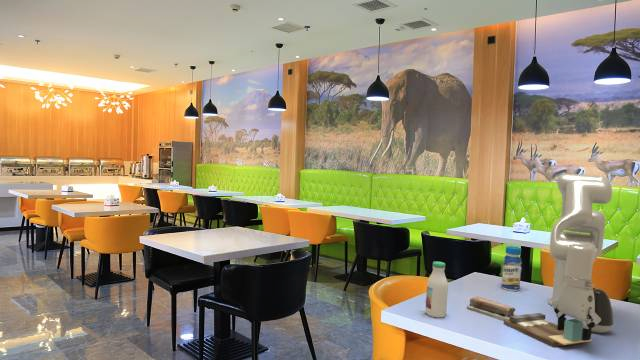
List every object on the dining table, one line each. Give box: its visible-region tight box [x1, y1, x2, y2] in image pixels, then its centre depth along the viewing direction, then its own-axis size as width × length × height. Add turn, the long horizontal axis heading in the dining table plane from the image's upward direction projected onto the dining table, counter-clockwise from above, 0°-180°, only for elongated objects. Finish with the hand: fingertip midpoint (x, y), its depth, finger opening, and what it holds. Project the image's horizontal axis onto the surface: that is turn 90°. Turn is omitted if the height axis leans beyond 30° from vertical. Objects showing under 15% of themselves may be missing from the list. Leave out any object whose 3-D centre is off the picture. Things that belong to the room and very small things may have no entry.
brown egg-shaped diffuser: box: [586, 287, 615, 334], centre depth 166 cm, size 10×10×15 cm
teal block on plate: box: [548, 318, 593, 346], centre depth 151 cm, size 13×6×6 cm, turn 113°
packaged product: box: [466, 296, 518, 322], centre depth 179 cm, size 18×5×10 cm
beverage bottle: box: [500, 245, 523, 292], centre depth 217 cm, size 8×8×20 cm
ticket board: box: [503, 312, 584, 348], centre depth 161 cm, size 16×21×4 cm
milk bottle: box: [424, 261, 449, 319], centre depth 173 cm, size 8×8×20 cm
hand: (573, 334), depth 150 cm, fingers open, 8 cm apart
